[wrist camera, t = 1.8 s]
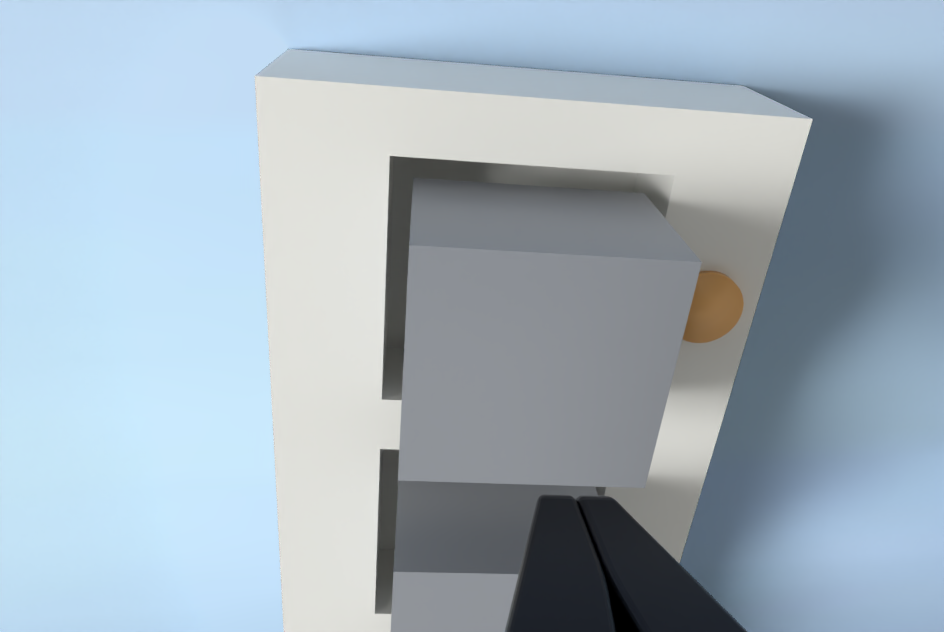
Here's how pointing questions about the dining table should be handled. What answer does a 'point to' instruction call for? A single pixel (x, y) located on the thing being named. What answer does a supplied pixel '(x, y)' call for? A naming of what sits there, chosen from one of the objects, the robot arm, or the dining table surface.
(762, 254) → the keypad
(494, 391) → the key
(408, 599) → the key middle
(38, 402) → the dining table surface
